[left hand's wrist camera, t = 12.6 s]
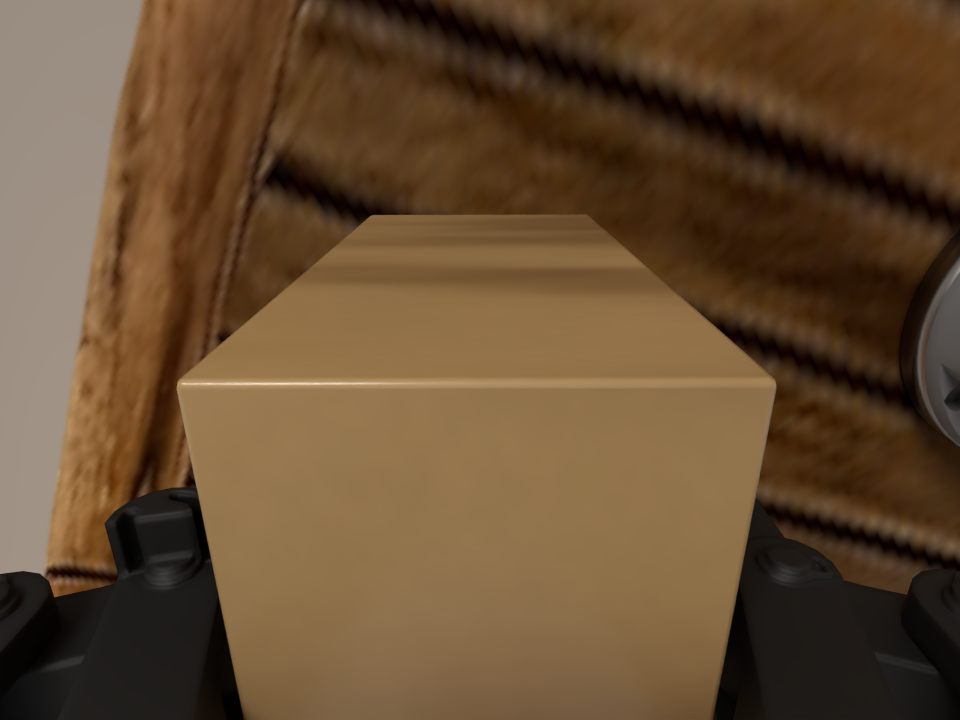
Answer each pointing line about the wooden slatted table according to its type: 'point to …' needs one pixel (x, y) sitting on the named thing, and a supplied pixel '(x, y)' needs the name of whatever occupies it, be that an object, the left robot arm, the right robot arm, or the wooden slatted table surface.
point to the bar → (477, 480)
